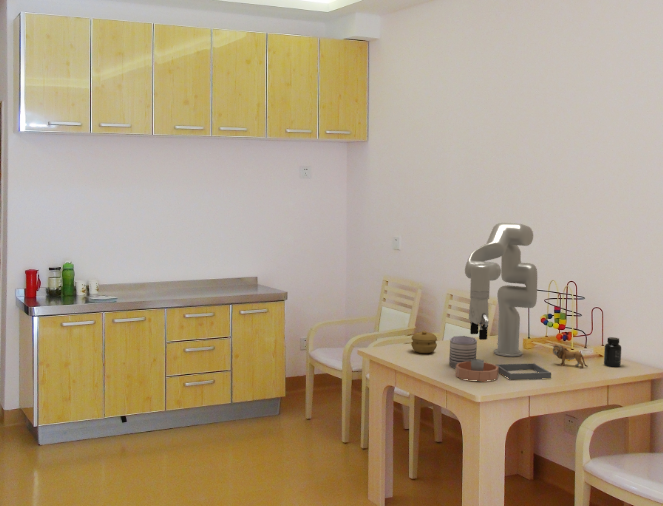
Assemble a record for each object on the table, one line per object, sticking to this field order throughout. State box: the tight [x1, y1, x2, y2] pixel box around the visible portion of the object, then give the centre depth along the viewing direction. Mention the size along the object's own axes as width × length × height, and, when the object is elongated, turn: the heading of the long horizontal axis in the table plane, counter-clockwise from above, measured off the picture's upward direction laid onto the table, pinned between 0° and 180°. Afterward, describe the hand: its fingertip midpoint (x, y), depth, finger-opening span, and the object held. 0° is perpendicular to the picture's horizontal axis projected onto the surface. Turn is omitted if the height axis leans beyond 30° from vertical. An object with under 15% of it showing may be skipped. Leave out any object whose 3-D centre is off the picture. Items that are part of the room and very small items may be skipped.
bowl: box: [455, 361, 500, 381], centre depth 303 cm, size 17×17×4 cm
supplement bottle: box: [603, 336, 622, 368], centre depth 324 cm, size 7×7×12 cm
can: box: [448, 335, 478, 369], centre depth 319 cm, size 11×11×12 cm
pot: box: [410, 330, 438, 354], centre depth 344 cm, size 12×12×10 cm
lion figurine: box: [552, 344, 589, 369], centre depth 323 cm, size 15×5×9 cm, turn 70°
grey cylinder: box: [471, 358, 485, 371], centre depth 303 cm, size 5×5×6 cm
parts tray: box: [494, 362, 552, 380], centre depth 307 cm, size 16×18×2 cm
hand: (478, 336), depth 302 cm, fingers open, 9 cm apart
